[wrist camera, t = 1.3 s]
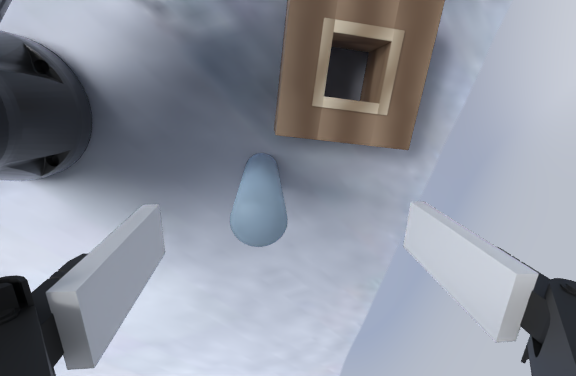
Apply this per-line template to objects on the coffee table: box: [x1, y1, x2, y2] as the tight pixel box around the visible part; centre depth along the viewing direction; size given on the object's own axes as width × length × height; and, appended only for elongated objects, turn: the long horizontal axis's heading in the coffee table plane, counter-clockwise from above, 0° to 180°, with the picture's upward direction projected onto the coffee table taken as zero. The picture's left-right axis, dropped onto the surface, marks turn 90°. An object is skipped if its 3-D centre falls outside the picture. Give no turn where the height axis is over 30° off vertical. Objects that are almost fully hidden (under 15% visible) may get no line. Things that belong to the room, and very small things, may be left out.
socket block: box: [274, 0, 445, 150], centre depth 29 cm, size 14×14×6 cm
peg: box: [230, 153, 287, 247], centre depth 27 cm, size 4×4×16 cm
